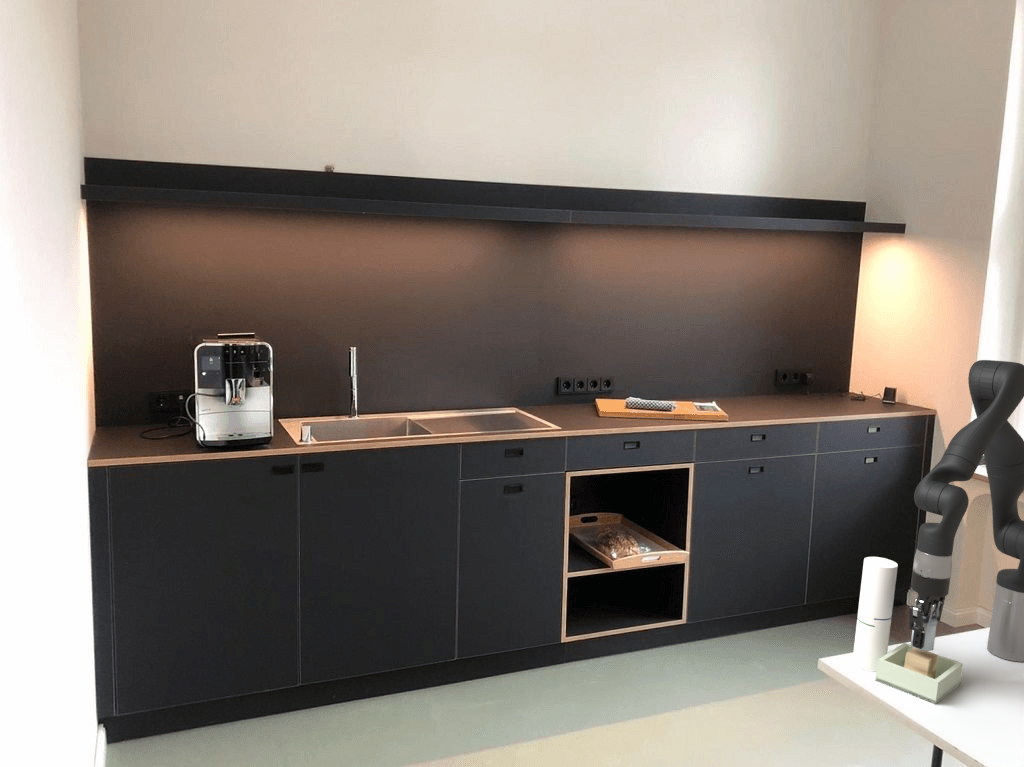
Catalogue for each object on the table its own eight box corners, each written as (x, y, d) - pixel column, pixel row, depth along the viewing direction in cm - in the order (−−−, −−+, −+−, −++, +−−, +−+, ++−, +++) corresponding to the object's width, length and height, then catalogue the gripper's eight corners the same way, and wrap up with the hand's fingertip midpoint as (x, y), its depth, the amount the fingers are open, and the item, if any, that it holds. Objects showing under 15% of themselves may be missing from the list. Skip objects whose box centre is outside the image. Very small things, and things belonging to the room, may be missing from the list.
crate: (901, 662, 201) (904, 642, 200) (960, 684, 191) (962, 663, 191) (875, 680, 191) (877, 659, 190) (935, 704, 182) (938, 682, 181)
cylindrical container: (888, 673, 195) (901, 569, 191) (855, 669, 196) (867, 565, 192) (881, 659, 202) (893, 558, 198) (849, 655, 203) (861, 555, 199)
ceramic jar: (915, 639, 193) (918, 611, 192) (937, 647, 190) (941, 619, 189) (906, 645, 190) (910, 617, 189) (928, 653, 187) (932, 624, 186)
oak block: (912, 671, 195) (915, 646, 194) (934, 680, 191) (937, 654, 190) (902, 678, 191) (905, 652, 190) (925, 686, 188) (929, 661, 187)
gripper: (927, 559, 195) (918, 630, 197) (900, 572, 185) (891, 646, 188) (962, 569, 190) (952, 641, 192) (936, 583, 180) (926, 659, 182)
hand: (922, 643), depth 190 cm, fingers closed on ceramic jar, 4 cm apart
